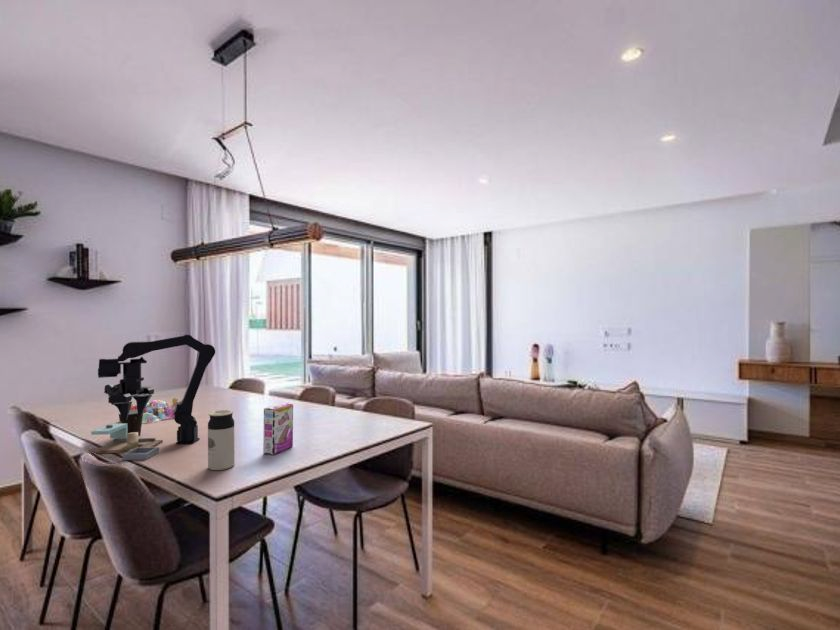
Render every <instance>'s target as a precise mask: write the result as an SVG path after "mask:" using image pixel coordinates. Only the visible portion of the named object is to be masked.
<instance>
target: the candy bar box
mask: <svg viewBox="0 0 840 630" xmlns="http://www.w3.org/2000/svg"><path fill="white" fill-rule="evenodd" d="M293 438H294V404H293V403H284V402H283V403H278V404H276V405H272V406H268V407H263V443H262V444H263V447H262V448H263V450H262V451H263V454H265V455H270V456H275V455H277V454H279V453H281V452H284V451H286V450H289V449H290V448H293V447H294V443H293V442H294V439H293Z"/></svg>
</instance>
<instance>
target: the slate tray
mask: <svg viewBox="0 0 840 630" xmlns="http://www.w3.org/2000/svg"><path fill="white" fill-rule="evenodd" d="M159 453H160V447H159V446H155V447H136V448H134V449H132V450H130V451H128V452H126V453H122V461H147V460H149V459H151V457H153V456H156V455H157V454H159ZM155 454H156V455H155Z"/></svg>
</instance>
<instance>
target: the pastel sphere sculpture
mask: <svg viewBox="0 0 840 630" xmlns="http://www.w3.org/2000/svg"><path fill="white" fill-rule="evenodd" d="M176 402H179V403H180V402H181V400H180V401H179V398H178V397H174V398H172V402H171V403H169V402H168V401H164V400H163V399H153V400H151V401H150V402H148V403H147V405H146V407H145V409H144V411H143V418H142V423H146V424H153V423H152V422H154V423H158V422H157V421H159V422H160V421H167V420H166V419H168V420H172V419H174V416H173V412H172V411H173V410H174V408H175V405H176ZM130 410H137V404H136V405H133V403H132V404H131V408H130Z"/></svg>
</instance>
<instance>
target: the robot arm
mask: <svg viewBox="0 0 840 630" xmlns="http://www.w3.org/2000/svg"><path fill="white" fill-rule="evenodd" d="M179 346H180V347H181V346H188V347H190V348H191V349H193V350H195V351H196V353H197V354H196V361H195V366H194V368H193V371H192V374H191V376H190V380H189V382H188V385H187V386H186V387H187V388H186V389H185V393H184V394H183V397H182V399H181V400H180V401H181V402H180V401H177V402H176V405H175V408H174V410H173V411H172V412H173V416H174V421H175V424H177V425H180V426H178V427H177V430H176V442H175V444H176V445H177V444H178V445H181V444H182V445H183V444H184V445H189V444H195V443H196V442H197V441H199V440H200V437H199V429H198V428H199V425H198V421H197V419H196V417H195V416H193V415H192V413H193V406H194V400H195V398H196V395H197V392H198V390H199V387H200V385H201V383H202V380H203V377H204V374H205V372H206V368H207V367H208V366H209V364H210V363H211V361H212V360H213V358H214V357H215V355H216V349H215V347H214V346H213V345H211V344H209V343H204V342H201V341H199V340H198V339H197V338H194V337H193V336H192V335H190V334H188V333H187V334H183V335H180V336H173V337H168V338H161V339H157V340H152V341H129V342H127V343H126V344H125V345H124V346H123V347H122V353H120V355H117V358H99V360H98V368H97V377H98V379H102V378H103V379H104V378H118V375H121V373H122V378H121V379H120V380H119V383H118V384H113V383H109V384H106V385H104V389H103V391H104V392H103V393H104V394H105V395H108V400H107V401H108V404H111V405H112V406H115V407H116V408H117V410H118V411H119V412H118V413H120V414H121V417H122V419H123V421H126V420H127V418H128V415H129V411H130V408H131V404H132V405H133V401H132V399H134V400H135V401H136V405H137V411H138V415H142V413H143V411H144V409H145V407H146V405H147V403H149V401H150V399H151V398H152V397H153V395H154V394H155V388H154V387H153V386H142V382H143V381H145V378H144V377H142V364H147V362H148V361H147V360H146V359H145V358H144V357H143V356H144V355H146V354H149V353H151V352H153V351H160V350H164V349H170V348H177V347H179ZM138 357H139V358H138ZM128 359H129V361H127V360H128ZM179 402H180V403H179Z"/></svg>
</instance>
